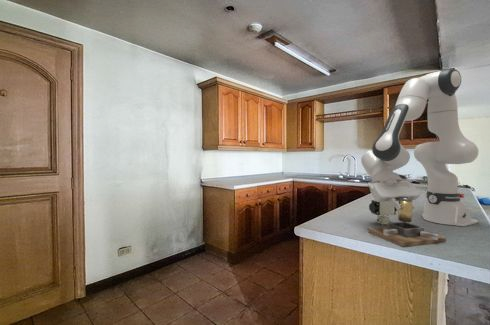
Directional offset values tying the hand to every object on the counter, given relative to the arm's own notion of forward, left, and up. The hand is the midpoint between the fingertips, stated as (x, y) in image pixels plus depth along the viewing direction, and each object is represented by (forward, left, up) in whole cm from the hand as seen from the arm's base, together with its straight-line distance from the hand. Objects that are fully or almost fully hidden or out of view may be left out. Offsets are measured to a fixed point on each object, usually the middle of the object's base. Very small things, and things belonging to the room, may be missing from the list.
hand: (406, 208), depth 90 cm
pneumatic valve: (-6, -18, -12) cm, 22 cm away
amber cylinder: (0, -1, -5) cm, 5 cm away
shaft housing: (0, -1, -11) cm, 11 cm away
